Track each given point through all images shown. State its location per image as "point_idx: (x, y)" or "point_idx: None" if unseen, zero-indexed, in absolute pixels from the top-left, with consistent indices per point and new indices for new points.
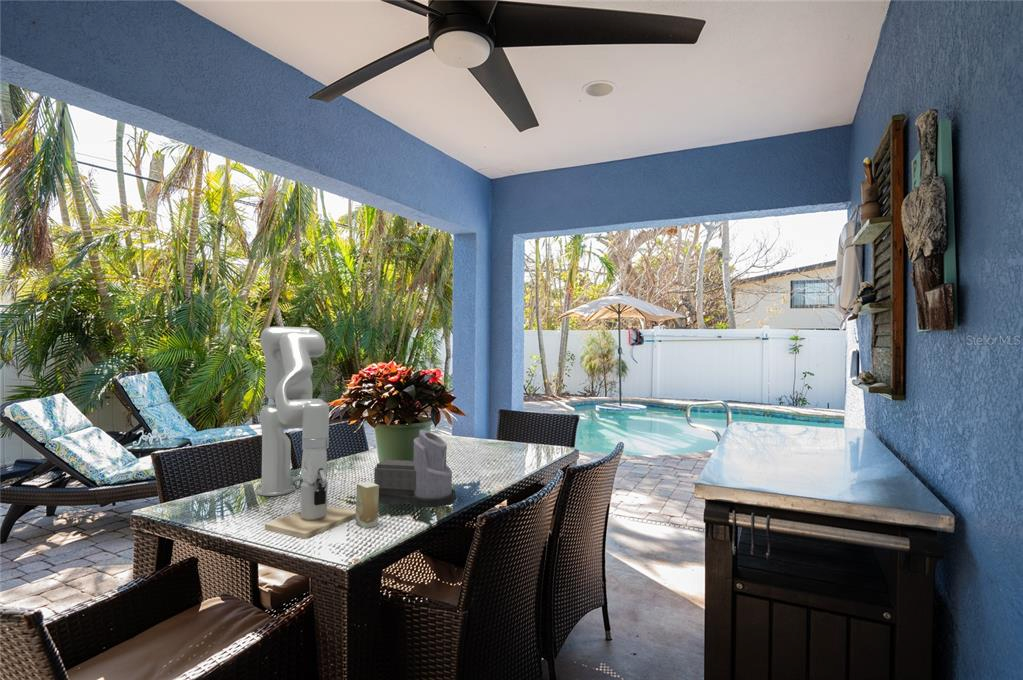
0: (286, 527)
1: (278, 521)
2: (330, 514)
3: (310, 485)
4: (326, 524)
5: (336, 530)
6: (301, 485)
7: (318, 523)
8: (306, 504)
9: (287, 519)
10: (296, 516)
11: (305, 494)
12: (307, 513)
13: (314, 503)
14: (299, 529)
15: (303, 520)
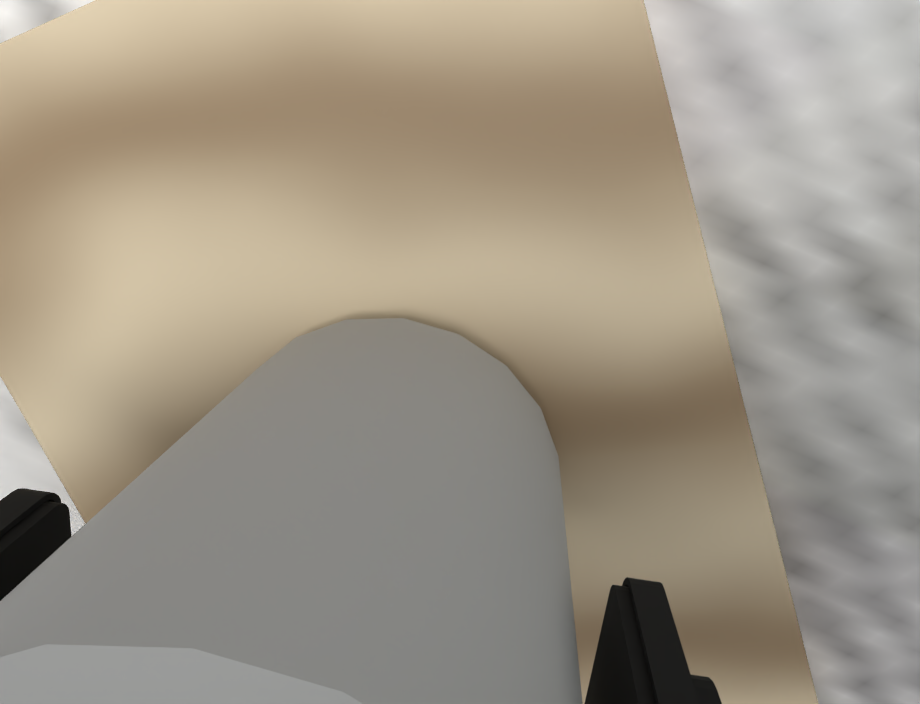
0: (218, 10)
1: (561, 26)
2: None
3: None
4: (54, 444)
5: (16, 477)
6: (207, 642)
7: (138, 396)
8: (207, 417)
9: (557, 172)
10: (592, 322)
11: (122, 508)
12: (256, 371)
13: (15, 498)
14: (36, 118)
15: (364, 316)
